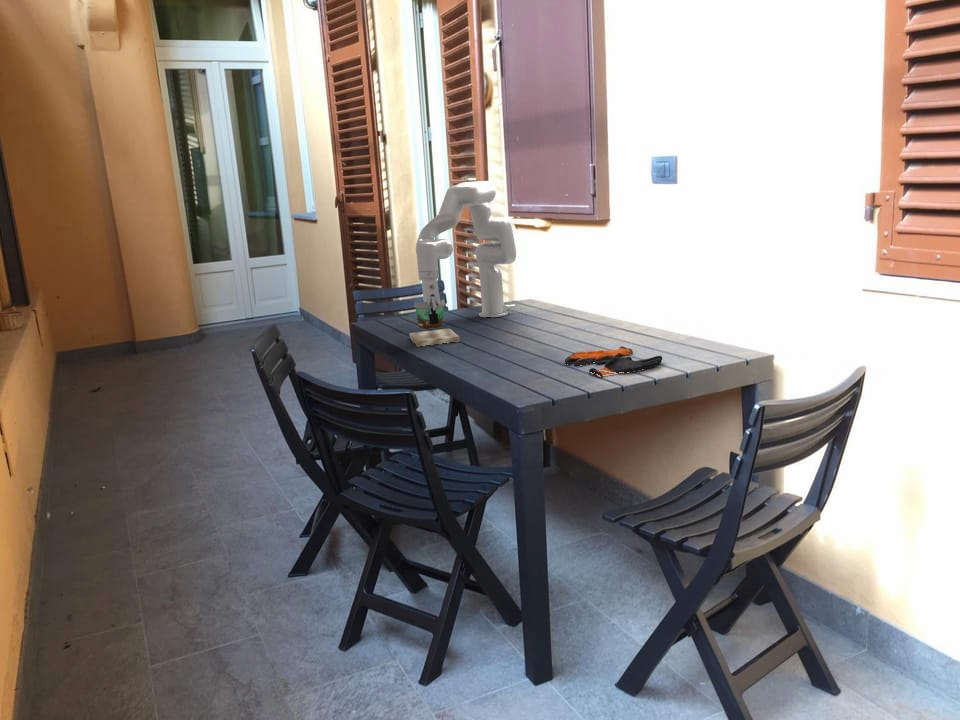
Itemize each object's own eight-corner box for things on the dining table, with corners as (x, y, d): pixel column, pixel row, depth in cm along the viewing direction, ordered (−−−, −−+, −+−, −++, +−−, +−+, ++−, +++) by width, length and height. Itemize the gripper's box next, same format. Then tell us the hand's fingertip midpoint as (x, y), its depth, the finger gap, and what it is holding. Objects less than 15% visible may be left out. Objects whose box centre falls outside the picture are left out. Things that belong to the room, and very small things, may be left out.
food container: (419, 330, 292) (418, 303, 290) (415, 327, 298) (413, 301, 295) (451, 326, 296) (449, 300, 294) (445, 323, 302) (444, 298, 300)
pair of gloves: (556, 363, 251) (555, 353, 251) (620, 351, 261) (619, 341, 260) (603, 381, 227) (603, 369, 226) (672, 367, 236) (672, 356, 235)
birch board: (450, 333, 309) (449, 328, 309) (459, 341, 292) (459, 336, 292) (410, 338, 306) (409, 333, 305) (417, 347, 289) (416, 341, 288)
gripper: (442, 276, 286) (446, 325, 290) (434, 271, 302) (438, 318, 306) (422, 278, 284) (426, 327, 288) (415, 273, 301) (419, 320, 305)
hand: (432, 322), depth 297 cm, fingers closed on food container, 5 cm apart
